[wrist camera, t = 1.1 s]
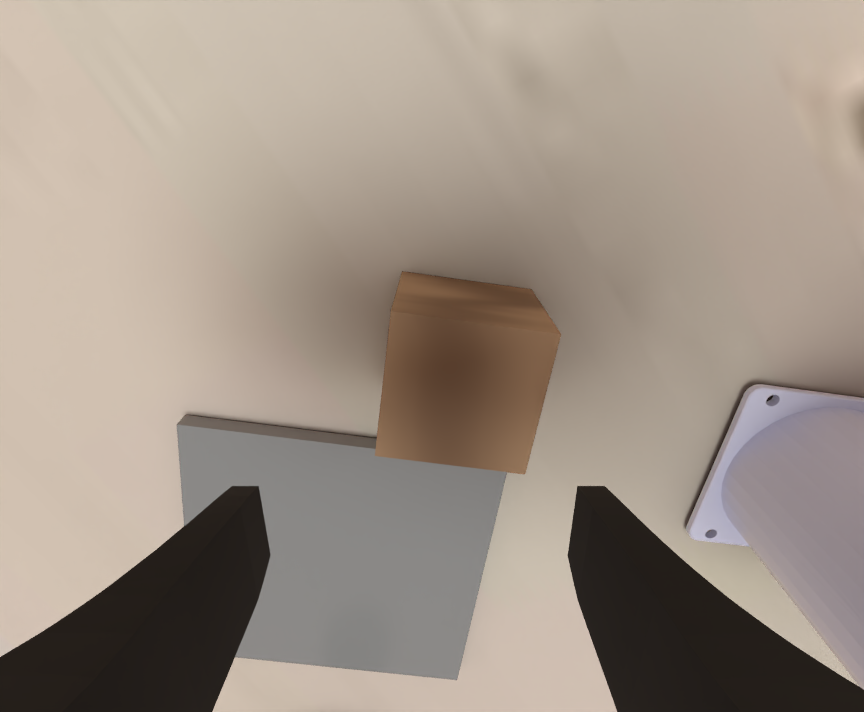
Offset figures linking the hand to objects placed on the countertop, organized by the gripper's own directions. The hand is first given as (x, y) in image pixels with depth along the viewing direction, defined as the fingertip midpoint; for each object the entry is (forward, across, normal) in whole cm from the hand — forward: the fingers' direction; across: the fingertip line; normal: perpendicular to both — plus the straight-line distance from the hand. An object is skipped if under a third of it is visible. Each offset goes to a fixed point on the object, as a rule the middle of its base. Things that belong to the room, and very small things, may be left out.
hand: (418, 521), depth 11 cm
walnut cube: (+10, -1, -1) cm, 10 cm away
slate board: (+10, +4, +11) cm, 15 cm away
